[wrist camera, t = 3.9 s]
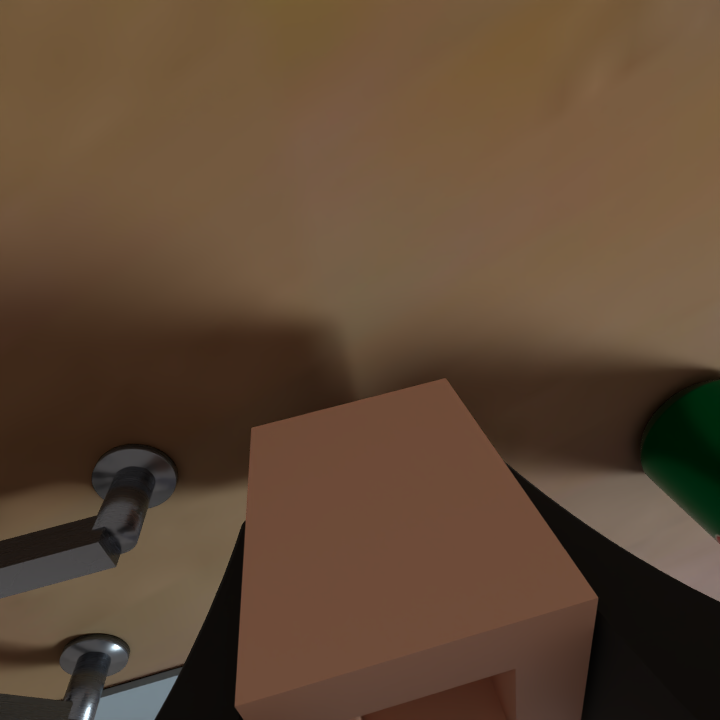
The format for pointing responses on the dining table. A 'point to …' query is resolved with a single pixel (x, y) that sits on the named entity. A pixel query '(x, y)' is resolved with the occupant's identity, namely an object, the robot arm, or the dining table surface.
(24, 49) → the dining table surface
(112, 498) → the bent jointed bar linkage
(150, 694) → the mat
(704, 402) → the soda can
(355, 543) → the pink block with hole
